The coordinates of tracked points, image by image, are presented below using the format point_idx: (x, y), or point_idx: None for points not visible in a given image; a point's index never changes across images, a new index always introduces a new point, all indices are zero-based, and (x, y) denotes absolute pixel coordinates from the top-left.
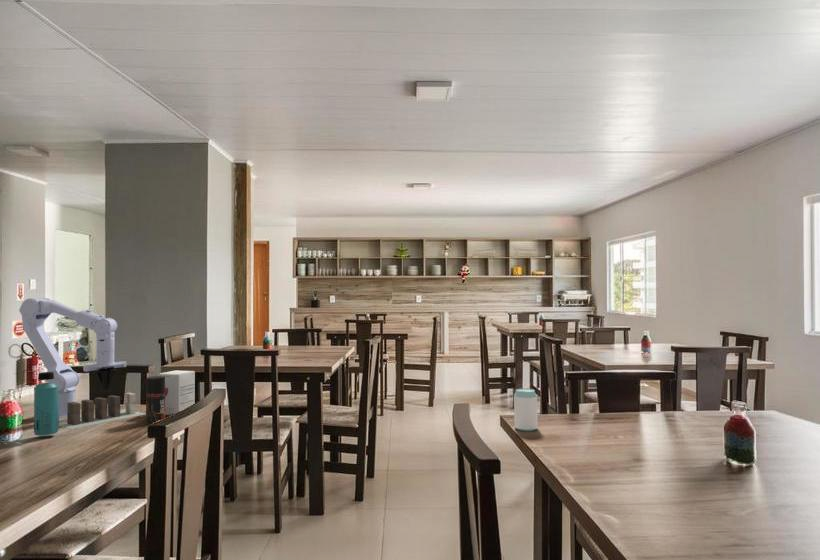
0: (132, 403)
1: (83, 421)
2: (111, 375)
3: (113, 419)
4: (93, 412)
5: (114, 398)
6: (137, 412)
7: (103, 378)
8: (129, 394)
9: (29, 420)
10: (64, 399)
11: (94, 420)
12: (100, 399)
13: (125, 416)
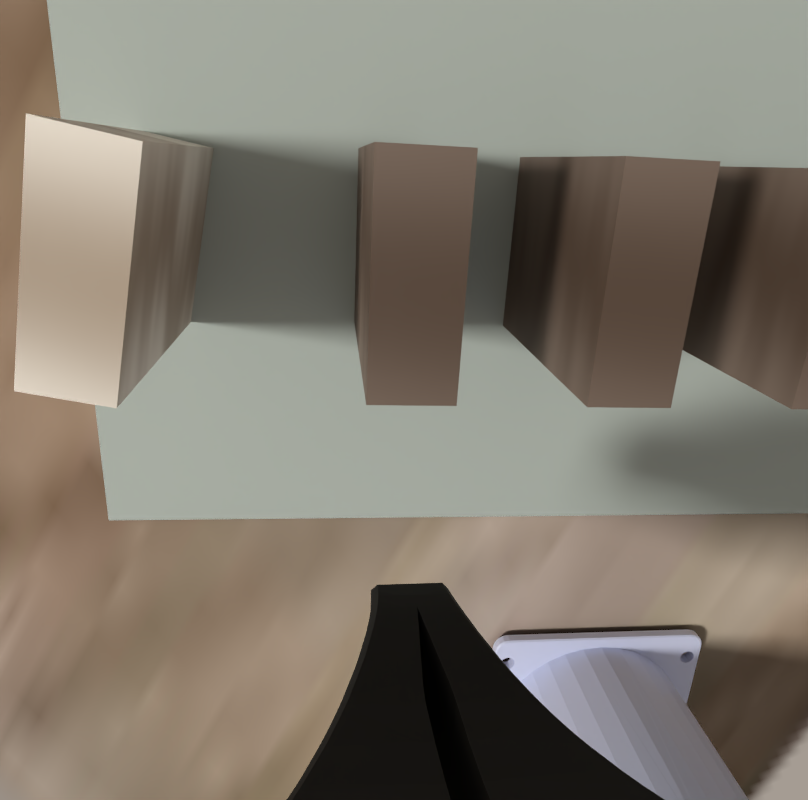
0: (150, 136)
1: None
2: (358, 791)
3: (512, 36)
4: (740, 169)
5: (471, 171)
6: None
7: (577, 741)
8: (138, 196)
9: (787, 755)
10: (719, 793)
11: None
12: (707, 219)
13: (329, 64)
